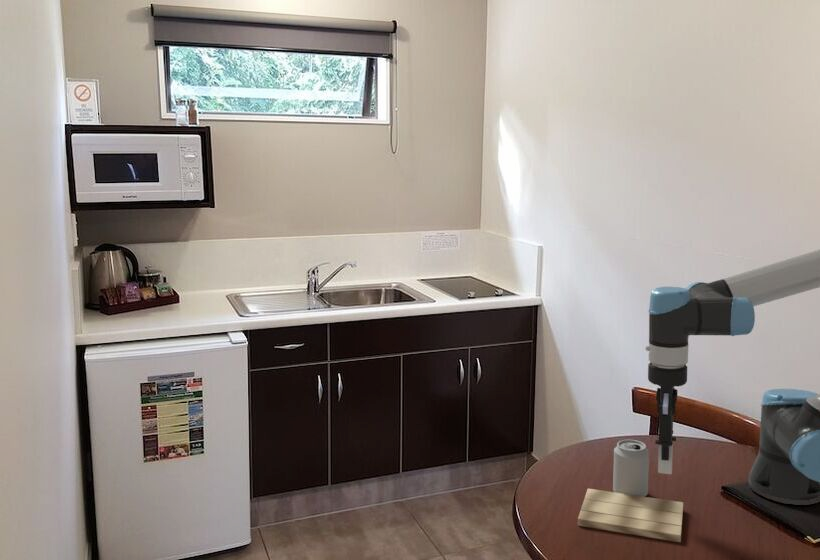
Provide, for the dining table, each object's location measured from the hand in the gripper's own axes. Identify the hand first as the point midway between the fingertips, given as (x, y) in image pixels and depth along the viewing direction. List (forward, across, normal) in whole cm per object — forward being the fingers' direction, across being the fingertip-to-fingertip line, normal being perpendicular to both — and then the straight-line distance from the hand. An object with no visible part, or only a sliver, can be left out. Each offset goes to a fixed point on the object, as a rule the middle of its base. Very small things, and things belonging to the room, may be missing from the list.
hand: (664, 472), depth 152 cm
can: (+10, -7, -8) cm, 14 cm away
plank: (+9, +1, -6) cm, 11 cm away
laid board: (+10, +8, -6) cm, 14 cm away
